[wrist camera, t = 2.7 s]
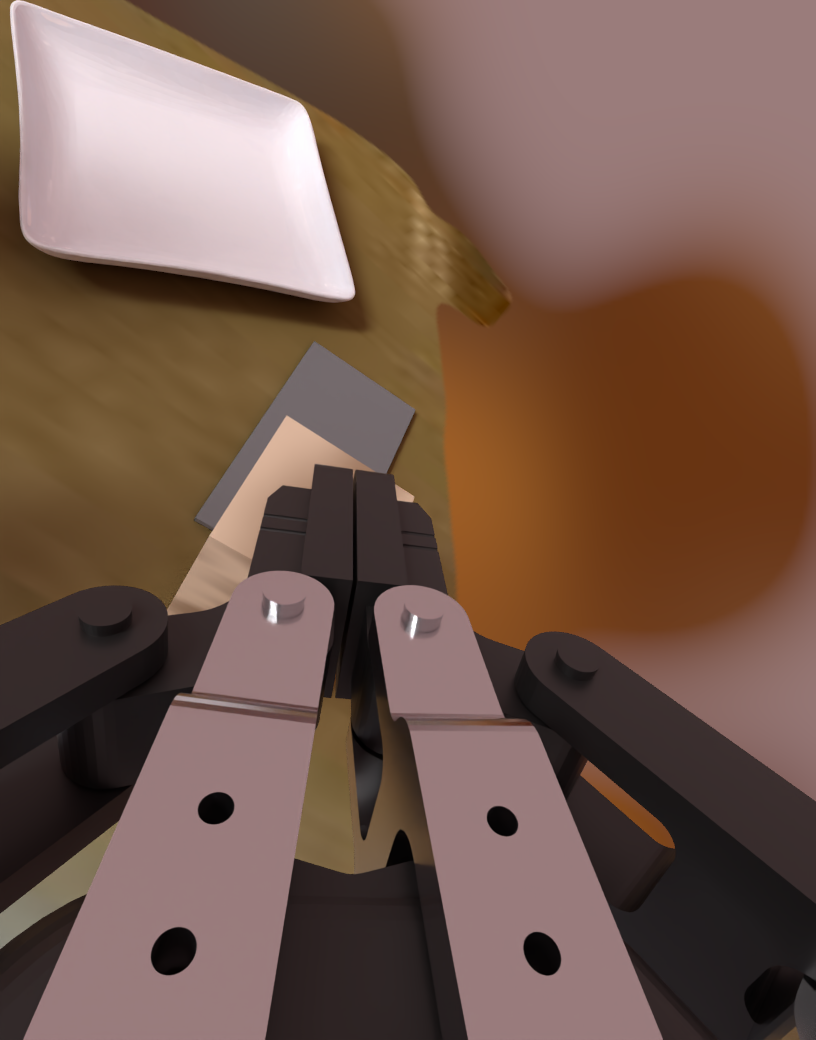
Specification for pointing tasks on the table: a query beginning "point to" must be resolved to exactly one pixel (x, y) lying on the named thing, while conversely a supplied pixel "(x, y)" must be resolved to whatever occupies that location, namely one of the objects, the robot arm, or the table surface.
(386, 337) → the table surface
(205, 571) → the block
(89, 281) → the table surface
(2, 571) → the table surface
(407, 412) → the mat
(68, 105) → the salad plate
